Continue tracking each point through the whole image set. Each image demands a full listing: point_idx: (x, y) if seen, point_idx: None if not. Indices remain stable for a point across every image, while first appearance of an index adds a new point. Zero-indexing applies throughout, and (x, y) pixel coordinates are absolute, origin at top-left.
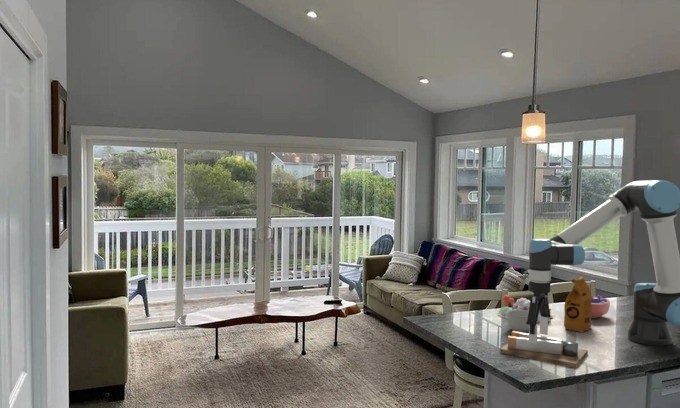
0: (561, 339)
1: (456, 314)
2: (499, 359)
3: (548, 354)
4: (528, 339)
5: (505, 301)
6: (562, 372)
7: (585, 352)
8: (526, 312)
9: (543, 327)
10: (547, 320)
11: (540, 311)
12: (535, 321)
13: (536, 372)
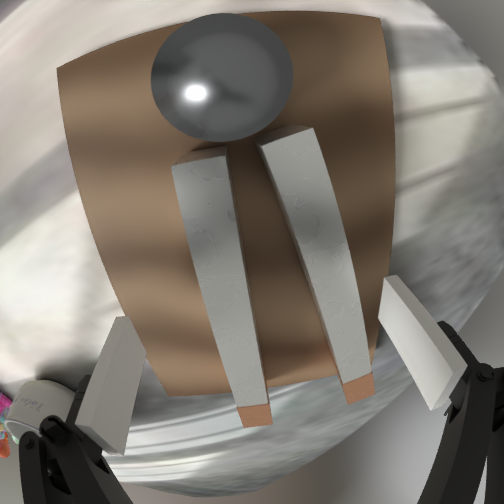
0: (176, 178)
1: (122, 479)
2: (435, 316)
3: None
4: (360, 336)
5: (7, 447)
6: (455, 76)
7: (105, 47)
8: (16, 430)
9: (127, 372)
10: (92, 403)
11: (129, 500)
12: (493, 393)
13: (497, 166)
